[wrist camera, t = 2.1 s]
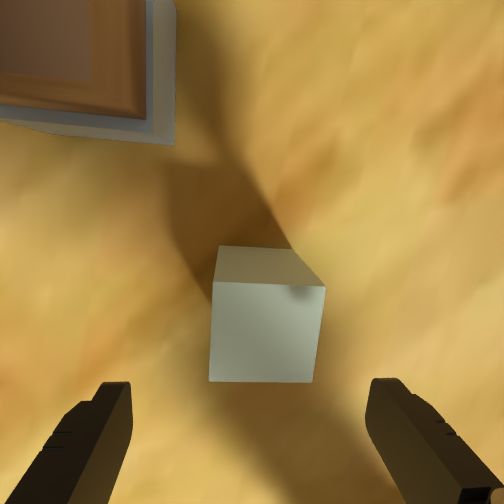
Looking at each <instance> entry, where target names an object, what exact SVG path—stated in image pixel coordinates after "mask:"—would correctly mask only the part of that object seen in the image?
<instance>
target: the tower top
mask: <svg viewBox="0 0 504 504" xmlns="http://www.w3.org/2000/svg"><path fill="white" fill-rule="evenodd" d="M0 105H8V106H18V107H27V108H37V109H46V110H56V111H65V112H75V113H84V114H93V115H103V116H112V117H122V118H131V119H141V120H146V0H0Z"/></svg>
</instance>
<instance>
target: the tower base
mask: <svg viewBox="0 0 504 504" xmlns="http://www.w3.org/2000/svg"><path fill="white" fill-rule="evenodd" d="M176 25H177V10H176V6H175V3H174V0H146V120H141V119H131V118H122V117H112V116H103V115H93V114H84V113H75V112H65V111H56V110H46V109H37V108H27V107H18V106H8V105H0V121H2V122H6V123H10V124H14V125H18V126H22V127H26V128H30V129H34V130H38V131H41V132H45V133H49V134H55V135H66V136H76V137H87V138H97V139H108V140H118V141H128V142H139V143H149V144H160V145H170V146H174V144H175V85H176Z"/></svg>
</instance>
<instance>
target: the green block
mask: <svg viewBox="0 0 504 504" xmlns="http://www.w3.org/2000/svg"><path fill="white" fill-rule="evenodd" d="M325 292H326V286H325V285H324V284H323V283H322V281H321V280H320V279H319V278H318V277H317V276H316V275H315V274H314V272H313V271H312V270H311V269H310V268H309V267H308V266H307V265H306V264H305V262H304V261H303V260H302V259H301V258H300V257H299V256H298V255H297V253H296V252H295V251H294V250H293V249H280V248H262V247H244V246H226V245H219V249H218V255H217V261H216V267H215V273H214V279H213V294H212V317H211V339H210V362H209V382H285V383H312V380H313V373H314V366H315V360H316V353H317V346H318V339H319V332H320V326H321V319H322V312H323V305H324V298H325Z"/></svg>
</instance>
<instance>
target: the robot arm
mask: <svg viewBox="0 0 504 504" xmlns="http://www.w3.org/2000/svg"><path fill="white" fill-rule="evenodd" d="M365 423H366V428H367V431H368V434H369V436H370V438H371V440H372V442H373V444H374V445H375V447H376V449H377V451H378V453H379V454H380V456H381V458H382V460H383V462H384V463H385V465H386V467H387V469H388V471H389V472H390V474H391V476H392V478H393V480H394V481H395V483H396V485H397V487H398V489H399V490H400V492H401V494H402V496H403V498H404V499H405V501H406V503H407V504H504V485H503V484H502V483H501V482H500V480H499V479H498V478H497V477H496V476H495V475H494V474H493V473H492V472H491V471H490V469H489V468H488V467H487V466H486V465H485V464H484V463H483V462H482V461H481V459H480V458H479V457H478V456H477V455H476V454H475V453H474V452H473V451H472V450H471V448H470V447H469V446H468V445H467V444H466V443H465V442H464V441H463V440H462V438H461V437H460V436H457V435H456V432H455V431H454V430H453V428H452V427H451V426H450V425H449V424H448V423H446V422H445V420H444V419H443V417H442V416H441V415H440V414H439V413H438V412H437V411H436V410H435V409H434V407H433V406H432V405H430V404H429V403H427V402H426V401H424V400H423V399H422V398H420V397H419V396H417V395H416V394H412V393H411V392H410V391H409V390H408V389H407V388H406V387H405V385H404V384H403V383H402V382H401V381H400V380H399V379H397V378H374V379H373V380H372V382H371V386H370V391H369V397H368V402H367V408H366V413H365ZM132 429H133V414H132V398H131V385H130V383H129V382H103V383H102V384H101V385H100V387H99V389H98V390H97V392H96V394H95V395H94V397H93V399H92V400H91V401H81V402H79V403H78V404H77V405H76V406H75V407H74V408H72V409H71V410H70V411H69V412H68V413H66V414H65V415H64V417H63V418H62V419H61V421H60V422H59V424H58V425H57V427H56V428H55V430H54V431H53V434H52V436H50V437H49V439H48V440H47V442H46V443H45V445H44V446H43V449H42V451H40V452H39V453H38V455H37V456H36V458H35V459H34V461H33V462H32V464H31V465H30V467H29V468H28V470H27V471H26V473H25V474H24V476H23V477H22V478H21V480H20V481H19V483H18V484H17V486H16V487H15V489H14V490H13V492H12V493H11V495H10V496H9V498H8V499H7V501H6V502H5V504H108V502H109V499H110V496H111V494H112V491H113V488H114V485H115V483H116V480H117V477H118V474H119V471H120V469H121V466H122V463H123V460H124V458H125V455H126V452H127V449H128V447H129V444H130V440H131V435H132Z"/></svg>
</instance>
